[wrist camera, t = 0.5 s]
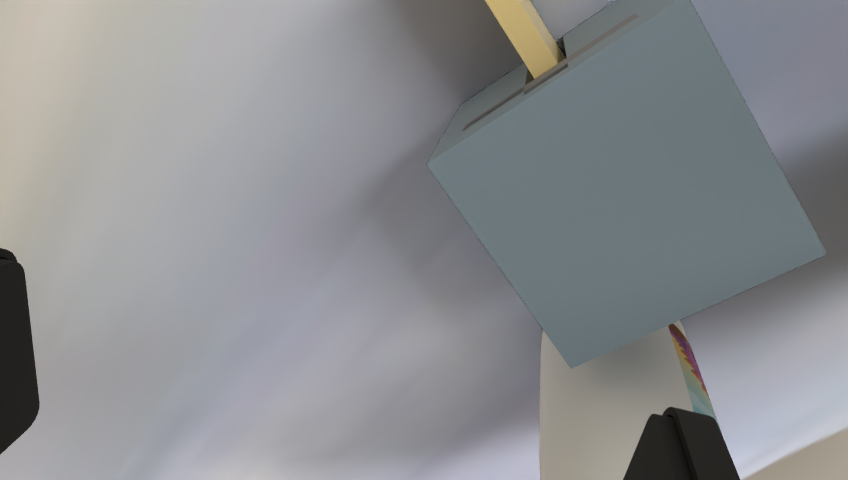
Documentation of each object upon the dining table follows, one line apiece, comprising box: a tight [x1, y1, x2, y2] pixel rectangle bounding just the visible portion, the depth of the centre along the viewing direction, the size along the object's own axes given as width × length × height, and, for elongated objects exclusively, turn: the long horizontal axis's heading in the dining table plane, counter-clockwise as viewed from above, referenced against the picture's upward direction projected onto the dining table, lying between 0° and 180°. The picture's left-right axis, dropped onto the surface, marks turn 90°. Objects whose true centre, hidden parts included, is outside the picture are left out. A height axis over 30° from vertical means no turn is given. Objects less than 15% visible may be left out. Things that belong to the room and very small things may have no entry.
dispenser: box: [426, 0, 827, 369], centre depth 26 cm, size 10×10×10 cm
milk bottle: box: [539, 320, 722, 480], centre depth 26 cm, size 8×8×20 cm
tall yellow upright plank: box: [485, 0, 566, 79], centre depth 26 cm, size 1×12×6 cm, turn 35°
